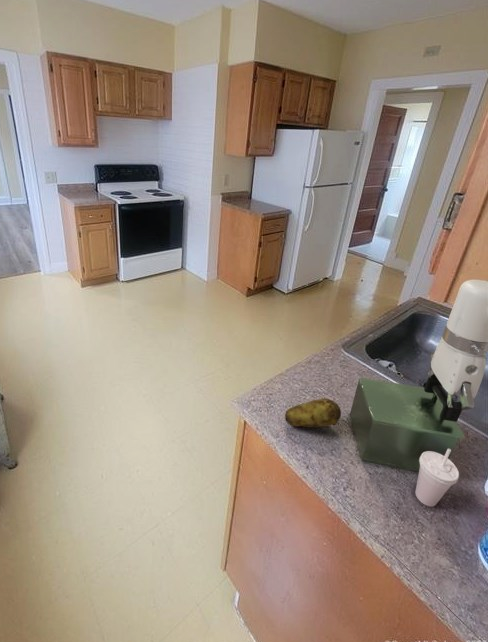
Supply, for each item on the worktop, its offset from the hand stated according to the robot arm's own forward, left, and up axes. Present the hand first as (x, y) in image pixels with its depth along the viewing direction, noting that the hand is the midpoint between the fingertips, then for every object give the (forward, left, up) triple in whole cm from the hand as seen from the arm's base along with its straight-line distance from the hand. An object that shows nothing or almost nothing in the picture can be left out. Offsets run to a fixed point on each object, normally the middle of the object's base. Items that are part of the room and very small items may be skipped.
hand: (439, 404), depth 72 cm
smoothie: (+4, +13, -14) cm, 19 cm away
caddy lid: (+6, 0, -2) cm, 7 cm away
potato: (+26, -1, -14) cm, 29 cm away
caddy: (+7, 0, -14) cm, 15 cm away
